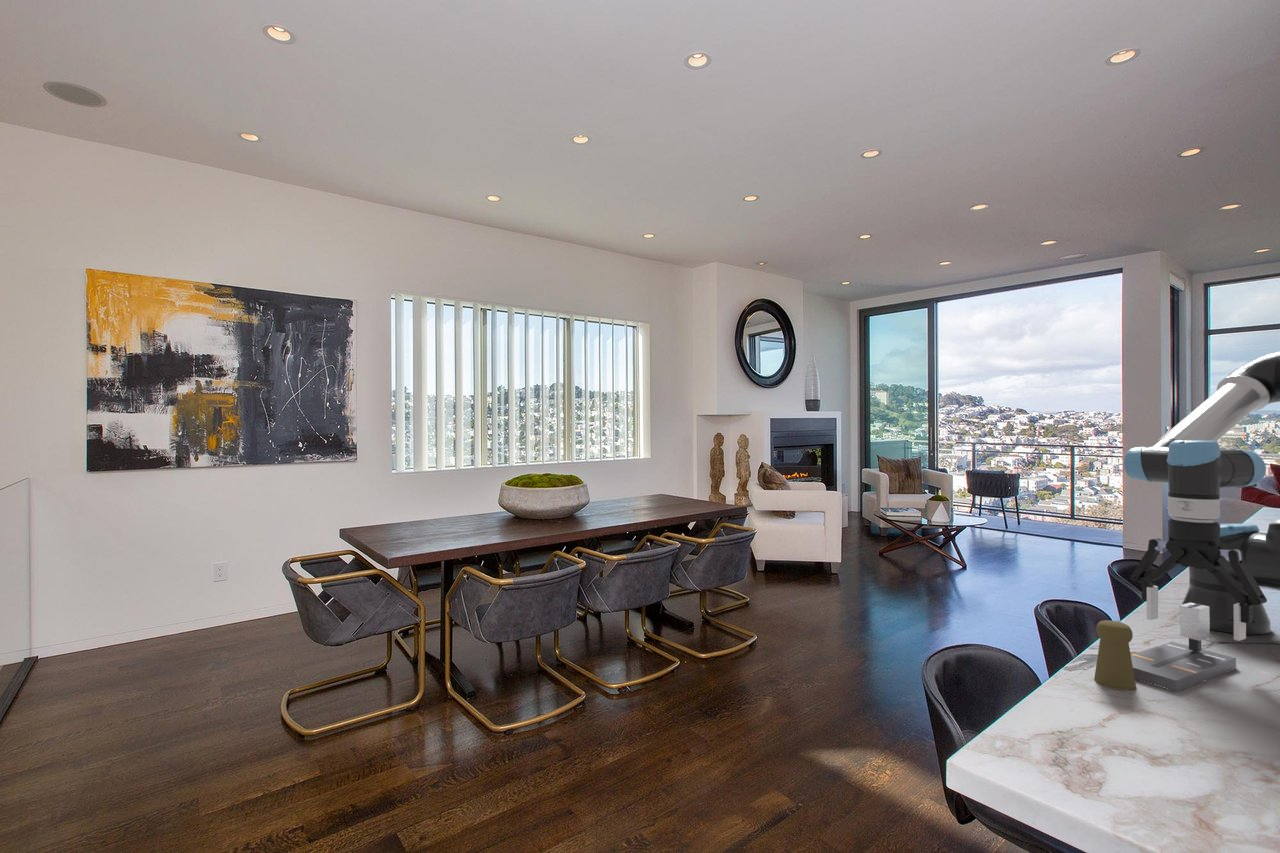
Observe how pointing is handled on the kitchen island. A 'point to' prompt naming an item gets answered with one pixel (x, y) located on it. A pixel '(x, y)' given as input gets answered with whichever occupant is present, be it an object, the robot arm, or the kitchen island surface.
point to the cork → (1114, 656)
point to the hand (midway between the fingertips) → (1193, 628)
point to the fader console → (1179, 665)
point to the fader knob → (1194, 624)
